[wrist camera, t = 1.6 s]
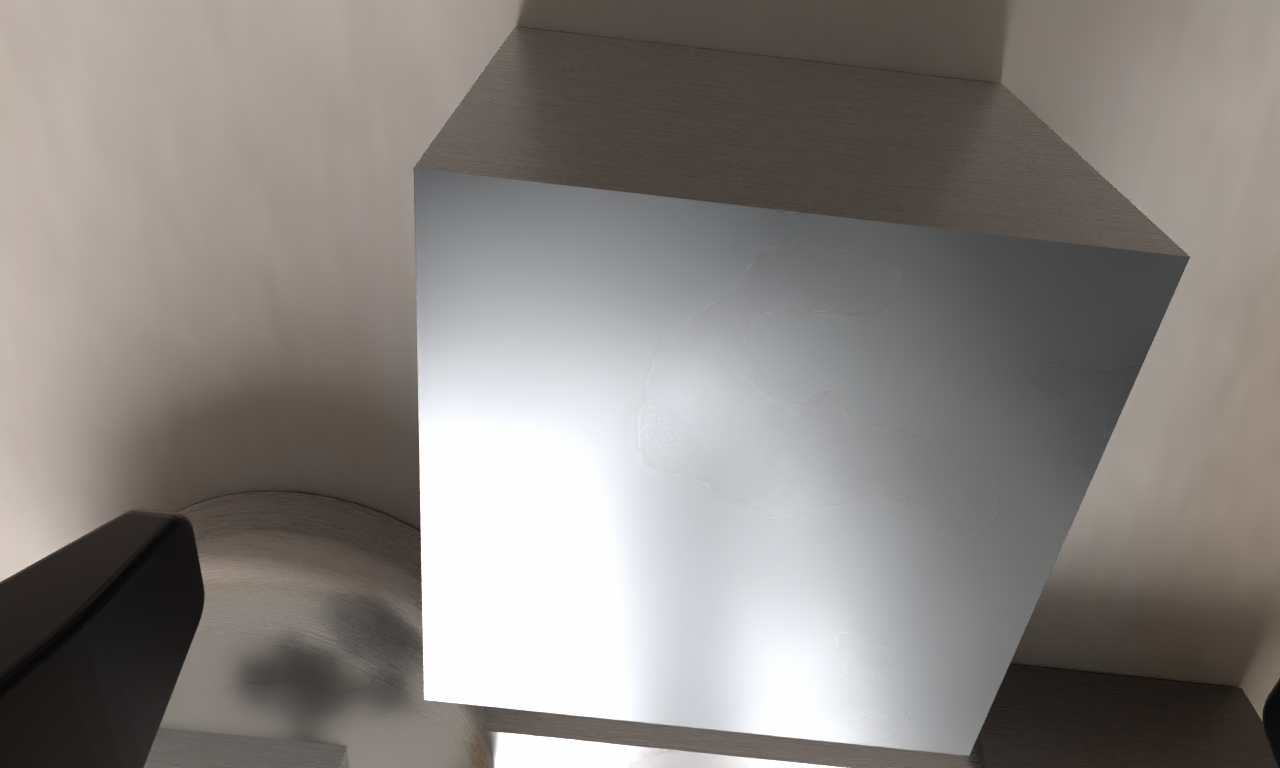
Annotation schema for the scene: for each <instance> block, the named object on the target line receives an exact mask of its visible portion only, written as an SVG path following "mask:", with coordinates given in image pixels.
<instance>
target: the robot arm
mask: <svg viewBox="0 0 1280 768" xmlns="http://www.w3.org/2000/svg"><path fill="white" fill-rule="evenodd" d="M204 598H205V592H204V584H203V578H202V573H201V567H200V562H199V556H198V551H197V545H196V540H195V534H194V530H193V526H192V523H191V522H190V520H189V519H188V518H187V517H186V516H184V515H182V514H180V513H174V512H165V511H155V510H146V509H135V510H131V511H128V512H126V513H124V514H122V515H120V516H118V517H116V518H115V519H113V520H111V521H109V522H107V523H106V524H104V525H102V526H100V527H98V528H97V529H95V530H93V531H91V532H89V533H88V534H86V535H84V536H82V537H80V538H79V539H77V540H75V541H73V542H72V543H70V544H68V545H66V546H64V547H63V548H61V549H59V550H57V551H55V552H54V553H52V554H50V555H48V556H46V557H45V558H43V559H41V560H39V561H37V562H36V563H34V564H32V565H30V566H28V567H27V568H25V569H23V570H21V571H20V572H18V573H16V574H14V575H12V576H11V577H9V578H7V579H5V580H3V581H2V582H0V768H144V766H145V763H146V761H147V758H148V756H149V753H150V750H151V748H152V745H153V743H154V740H155V737H156V735H157V732H158V729H159V727H160V724H161V722H162V719H163V716H164V714H165V711H166V709H167V706H168V703H169V701H170V698H171V696H172V693H173V690H174V688H175V685H176V683H177V680H178V677H179V675H180V672H181V670H182V667H183V664H184V662H185V659H186V656H187V654H188V651H189V649H190V646H191V643H192V641H193V638H194V636H195V633H196V630H197V628H198V625H199V622H200V620H201V616H202V612H203V607H204ZM1263 726H1264V731H1265V735H1266V738H1267V741H1268V744H1269V747H1270V750H1271V753H1272V756H1273V759H1274V762H1275V765H1276V768H1280V679H1279V680H1278V682H1277V683H1276V685H1275V686H1274V688H1273V689H1272V691H1271V692H1270V694H1269V695H1268V697H1267V699H1266V701H1265V705H1264V708H1263Z"/></svg>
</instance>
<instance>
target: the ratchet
mask: <svg viewBox="0 0 1280 768" xmlns="http://www.w3.org/2000/svg"><path fill="white" fill-rule="evenodd" d="M176 513H180V514H182V515H184V516H186V517H187V518H188V519H189V520H190V522H191V523H192V526H193V530H194V534H195V540H196V545H197V551H198V556H199V562H200V567H201V573H202V578H203V584H204V592H205V598H204V607H203V612H202V616H201V620H200V622H199V625H198V628H197V630H196V633H195V636H194V638H193V641H192V643H191V646H190V649H189V651H188V654H187V656H186V659H185V662H184V664H183V667H182V670H181V672H180V675H179V677H178V680H177V683H176V685H175V688H174V690H173V693H172V696H171V698H170V701H169V703H168V706H167V709H166V711H165V714H164V716H163V719H162V722H161V724H160V727H159V729H158V732H157V735H156V737H155V740H154V743H153V745H152V748H151V750H150V753H149V756H148V758H147V761H146V763H145V766H144V768H1276V765H1275V762H1274V759H1273V756H1272V753H1271V750H1270V747H1269V744H1268V741H1267V738H1266V735H1265V731H1264V726H1263V722H1262V720H1261V719H1260V717H1259V715H1258V714H1257V712H1256V711H1255V709H1254V707H1253V706H1252V704H1251V703H1250V701H1249V699H1248V698H1247V696H1246V695H1245V693H1244V691H1243V690H1242V688H1234V687H1225V686H1215V685H1206V684H1196V683H1187V682H1177V681H1168V680H1158V679H1149V678H1139V677H1129V676H1120V675H1110V674H1101V673H1091V672H1082V671H1072V670H1063V669H1053V668H1044V667H1034V666H1025V665H1015V664H1010V665H1009V667H1008V669H1007V671H1006V674H1005V676H1004V678H1003V681H1002V683H1001V685H1000V687H999V690H998V692H997V694H996V696H995V699H994V701H993V703H992V705H991V708H990V710H989V712H988V714H987V717H986V719H985V721H984V723H983V726H982V728H981V730H980V732H979V735H978V737H977V739H976V741H975V744H974V746H973V748H972V751H971V753H970V755H969V756H966V755H956V754H946V753H936V752H927V751H917V750H907V749H898V748H888V747H878V746H868V745H859V744H849V743H839V742H829V741H820V740H810V739H800V738H790V737H781V736H771V735H761V734H751V733H742V732H732V731H722V730H712V729H703V728H693V727H683V726H673V725H664V724H654V723H644V722H635V721H625V720H615V719H605V718H596V717H586V716H576V715H566V714H557V713H547V712H537V711H527V710H518V709H508V708H498V707H488V706H479V705H469V704H459V703H449V702H440V701H430V700H424V668H423V616H422V564H421V532H420V531H418V530H416V529H415V528H413V527H411V526H409V525H407V524H405V523H403V522H401V521H399V520H396V519H394V518H392V517H390V516H388V515H386V514H383V513H380V512H377V511H375V510H372V509H369V508H366V507H364V506H361V505H358V504H354V503H350V502H346V501H342V500H338V499H335V498H331V497H324V496H318V495H312V494H305V493H294V492H276V491H269V492H249V493H240V494H234V495H228V496H222V497H217V498H213V499H210V500H207V501H203V502H200V503H197V504H193V505H191V506H189V507H187V508H185V509H182V510H180V511H178V512H176Z"/></svg>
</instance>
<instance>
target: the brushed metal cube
mask: <svg viewBox="0 0 1280 768" xmlns="http://www.w3.org/2000/svg"><path fill="white" fill-rule="evenodd" d="M414 203H415V255H416V306H417V358H418V410H419V461H420V513H421V564H422V616H423V668H424V700H430V701H440V702H449V703H459V704H469V705H479V706H488V707H498V708H508V709H518V710H527V711H537V712H547V713H557V714H566V715H576V716H586V717H596V718H605V719H615V720H625V721H635V722H644V723H654V724H664V725H673V726H683V727H693V728H703V729H712V730H722V731H732V732H742V733H751V734H761V735H771V736H781V737H790V738H800V739H810V740H820V741H829V742H839V743H849V744H859V745H868V746H878V747H888V748H898V749H907V750H917V751H927V752H936V753H946V754H956V755H966V756H969V755H970V753H971V751H972V748H973V746H974V744H975V741H976V739H977V737H978V735H979V732H980V730H981V728H982V726H983V723H984V721H985V719H986V717H987V714H988V712H989V710H990V708H991V705H992V703H993V701H994V699H995V696H996V694H997V692H998V690H999V687H1000V685H1001V683H1002V681H1003V678H1004V676H1005V674H1006V671H1007V669H1008V667H1009V665H1010V662H1011V660H1012V658H1013V656H1014V653H1015V651H1016V649H1017V647H1018V644H1019V642H1020V640H1021V638H1022V635H1023V633H1024V631H1025V629H1026V626H1027V624H1028V622H1029V620H1030V617H1031V615H1032V613H1033V610H1034V608H1035V606H1036V604H1037V601H1038V599H1039V597H1040V595H1041V592H1042V590H1043V588H1044V586H1045V583H1046V581H1047V579H1048V577H1049V574H1050V572H1051V570H1052V568H1053V565H1054V563H1055V561H1056V559H1057V556H1058V554H1059V552H1060V549H1061V547H1062V545H1063V543H1064V540H1065V538H1066V536H1067V534H1068V531H1069V529H1070V527H1071V525H1072V522H1073V520H1074V518H1075V516H1076V513H1077V511H1078V509H1079V507H1080V504H1081V502H1082V500H1083V498H1084V495H1085V493H1086V491H1087V489H1088V486H1089V484H1090V482H1091V479H1092V477H1093V475H1094V473H1095V470H1096V468H1097V466H1098V464H1099V461H1100V459H1101V457H1102V455H1103V452H1104V450H1105V448H1106V446H1107V443H1108V441H1109V439H1110V437H1111V434H1112V432H1113V430H1114V428H1115V425H1116V423H1117V421H1118V418H1119V416H1120V414H1121V412H1122V409H1123V407H1124V405H1125V403H1126V400H1127V398H1128V396H1129V394H1130V391H1131V389H1132V387H1133V385H1134V382H1135V380H1136V378H1137V376H1138V373H1139V371H1140V369H1141V367H1142V364H1143V362H1144V360H1145V358H1146V355H1147V353H1148V351H1149V348H1150V346H1151V344H1152V342H1153V339H1154V337H1155V335H1156V333H1157V330H1158V328H1159V326H1160V324H1161V321H1162V319H1163V317H1164V315H1165V312H1166V310H1167V308H1168V306H1169V303H1170V301H1171V299H1172V297H1173V294H1174V292H1175V290H1176V287H1177V285H1178V283H1179V281H1180V278H1181V276H1182V274H1183V272H1184V269H1185V267H1186V265H1187V263H1188V260H1189V258H1190V256H1188V255H1187V254H1186V253H1185V252H1184V251H1183V250H1182V249H1181V248H1180V247H1179V246H1178V245H1176V244H1175V243H1174V242H1173V241H1172V240H1171V239H1170V238H1169V237H1168V236H1167V235H1166V234H1165V233H1163V232H1162V231H1161V230H1160V229H1159V228H1158V227H1157V226H1156V225H1155V224H1154V223H1153V222H1151V221H1150V220H1149V219H1148V218H1147V217H1146V216H1145V215H1144V214H1143V213H1142V212H1141V211H1139V210H1138V209H1137V208H1136V207H1135V206H1134V205H1133V204H1132V203H1131V202H1130V201H1129V200H1128V199H1126V198H1125V197H1124V196H1123V195H1122V194H1121V193H1120V192H1119V191H1118V190H1117V189H1116V188H1114V187H1113V186H1112V185H1111V184H1110V183H1109V182H1108V181H1107V180H1106V179H1105V178H1104V177H1103V176H1101V175H1100V174H1099V173H1098V172H1097V171H1096V170H1095V169H1094V168H1093V167H1092V166H1091V165H1089V164H1088V163H1087V162H1086V161H1085V160H1084V159H1083V158H1082V157H1081V156H1080V155H1079V154H1077V153H1076V152H1075V151H1074V150H1073V149H1072V148H1071V147H1070V146H1069V145H1068V144H1067V143H1066V142H1064V141H1063V140H1062V139H1061V138H1060V137H1059V136H1058V135H1057V134H1056V133H1055V132H1054V131H1052V130H1051V129H1050V128H1049V127H1048V126H1047V125H1046V124H1045V123H1044V122H1043V121H1042V120H1041V119H1039V118H1038V117H1037V116H1036V115H1035V114H1034V113H1033V112H1032V111H1031V110H1030V109H1029V108H1027V107H1026V106H1025V105H1024V104H1023V103H1022V102H1021V101H1020V100H1019V99H1018V98H1017V97H1015V96H1014V95H1013V94H1012V93H1011V92H1010V91H1009V90H1008V89H1007V88H1006V87H1005V86H1004V85H1002V84H998V83H990V82H981V81H973V80H964V79H956V78H947V77H939V76H930V75H922V74H913V73H905V72H896V71H888V70H880V69H871V68H863V67H854V66H846V65H837V64H829V63H820V62H812V61H803V60H795V59H786V58H778V57H770V56H761V55H753V54H744V53H736V52H727V51H719V50H710V49H702V48H693V47H685V46H676V45H668V44H660V43H651V42H643V41H634V40H626V39H617V38H609V37H600V36H592V35H583V34H575V33H566V32H558V31H549V30H541V29H533V28H524V27H515V28H514V29H513V31H512V32H511V34H510V35H509V36H508V38H507V39H506V41H505V42H504V43H503V45H502V46H501V47H500V49H499V50H498V52H497V53H496V54H495V56H494V57H493V59H492V60H491V61H490V63H489V64H488V66H487V67H486V68H485V70H484V71H483V72H482V74H481V75H480V77H479V78H478V79H477V81H476V82H475V84H474V85H473V86H472V88H471V89H470V91H469V92H468V93H467V95H466V96H465V97H464V99H463V100H462V102H461V103H460V104H459V106H458V107H457V109H456V110H455V111H454V113H453V114H452V116H451V117H450V118H449V120H448V121H447V123H446V124H445V125H444V127H443V128H442V129H441V131H440V132H439V134H438V135H437V136H436V138H435V139H434V141H433V142H432V143H431V145H430V146H429V148H428V149H427V150H426V152H425V153H424V154H423V156H422V157H421V159H420V160H419V161H418V163H417V164H416V166H415V167H414Z"/></svg>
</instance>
